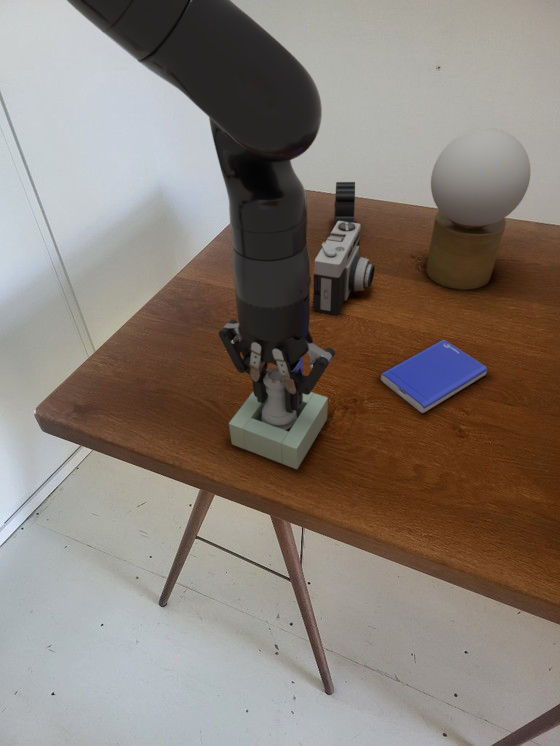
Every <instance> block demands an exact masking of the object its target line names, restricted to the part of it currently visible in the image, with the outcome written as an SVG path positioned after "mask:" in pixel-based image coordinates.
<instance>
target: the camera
mask: <svg viewBox="0 0 560 746" xmlns="http://www.w3.org/2000/svg"><path fill="white" fill-rule="evenodd" d="M361 227H362V225H361V223H358V222H354V223H351V222H344V221H338V222H337V224H336V225H335V227H334V226H333V229H332V230H331V232H330V235H329V236H328V237H327V239H326V240H325V241H323V242H322V244H321V248H320V250H319V252H318V254H317V256H316V257H315V259H314V272H313V295H312V296H313V298H312V299H313V301H312V302H313V303H312V304H313V307H312V309H313V310H314V312H319V313H324V314H329V315H339V313H340V311H341V309H342V306H343V304H344V302H345V301H348V298H349V296H350V294H351V291H354V293H357V292H363V291H365V290H366V288H371V286H372V284H373V281H374V275H375V265H374V264H372V263H371V260H370V259H369V258H368V256H365V257H362V256H359V255H360V243H361V230H362V229H361Z"/></svg>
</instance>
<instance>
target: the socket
mask: <svg viewBox="0 0 560 746" xmlns="http://www.w3.org/2000/svg"><path fill="white" fill-rule="evenodd" d="M267 399H268V398H267ZM266 402H267V400H266V401H265V402H264V403H260V402H258V401H257V397H255V395H254V392H253V391H252V392H251V393H250V395H249V396H248V397H247V399H246V400H245V401H244V402H243V404H242V405H241V406H240V408H239V409H238V411H237V412H236V413H235V415H233V417H232V418H231V419H230V421H228V428H229V434H230V441H231V445H233V446H235V447H237V448H240V449H242V450H246V451H248V452H250V453H253V454H255V455H258V456H260V457H264V458H265V459H268V460H271V461H274V462H276V463H279V464H281V465H284V466H286V467H289V468H291V469H294V470H298V469H299V467H300V466H301V464H302V463H303V461H304V459H305V457H306V456H307V454H308V453H309V450H310V449H311V447H312V446H313V444H314V442H315V440H316V438H317V437H318V435H319V433H320V432H321V430H322V428H323V427H324V425H325V423H326V422H327V420H328V412H329V411H328V408H329V407H328V406H329V397H327V396H325V395H322V394H318V393H315V392H313V391H311V393H310V394H309V395H306V394H303V401H302V403H301V405H300V406H299V408H298V409H297V411H296V415H297V420H296V422H295V423H294V425H293V426H292V427H291V428H289V429H290V430H283V429H280V428H277V427H275V426H272V425H269V424H266V423H264V422H262V409H263V407H264V405H265V404H266Z"/></svg>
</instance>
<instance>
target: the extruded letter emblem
mask: <svg viewBox="0 0 560 746" xmlns="http://www.w3.org/2000/svg"><path fill="white" fill-rule="evenodd" d="M334 197H335V198H334V213H333V228H334V227H335V225H336V224H337V222H338V221H344V222H351V223H355V204H356V182H355V181H336V182H335V196H334Z"/></svg>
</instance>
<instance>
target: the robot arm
mask: <svg viewBox="0 0 560 746" xmlns="http://www.w3.org/2000/svg"><path fill="white" fill-rule="evenodd" d="M66 1H67V2H68V3H69V4H70V5H71V6H72V8H74V9H75V10H76V11H77V12H78V13H80V15H82V16H83V17H84V18H85V19H86V20H87V21H88V22H89V23H91V24H92V25H93V26H94V27H96V29H98V30H99V31H101V32H102V34H104V35H105V36H107V38H109V39H110V40H111V41H113V42H114V43H115V44H116V45H117V46H119V47H120V48H121V49H122V50H123V51H124V52H126V53H127V54H128V55H130V56H131V57H132V58H133V59H134V60H136V61H137V62H138V63H139V64H141V65H142V66H143V67H145V69H147V70H148V71H150V72H152V73H153V74H155V75H156V76H157V77H159V78H161V79H162V80H163V81H165V82H167V83H168V84H169V85H171V86H173V87H175V89H177V90H178V91H180V92H181V93H182V94H183V95H184V96H185V97H186V98H188V99H189V101H191V102H192V103H193V104H194V105H195V106H196V107H197V108H198V109H199V110H201V112H203V113H204V114H205V115H206V117H208V121H209V126H210V131H211V135H212V140H213V144H214V149H215V152H216V156H217V161H218V164H219V168H220V172H221V176H222V179H223V182H224V185H225V189H226V194H227V198H228V212H229V213H228V214H229V215H228V216H229V225H230V233H231V241H232V242H231V243H232V262H231V263H232V266H231V267H232V276H233V285H234V295H235V303H236V304H235V305H236V314H237V319H238V321H237V320H235V319H232V318H231V319H229V321H228V322H227V323H226V324H225V325H224V326H223V327H222V328H221V329H220V331H219V332H218V336H219V339H220V340H221V342H222V344H223V346H224V348H225V350H226V352H227V354H228V356H229V358H230V359H231V361H232V363H233V366H234V367H235V370H236V371H237V372H239V373H240V374H244V373H246V374H248V375H249V378H250V379H251V382H252V389H253V390H252V392H254V395H255V397H257V401H258V402H260V403H264V402H265V401H266V400H267V398H268V393H267V392H266V387H267V386H266V385H265V384H264V382H263V378H264V376H265V375H266V373H267V370H268V369H269V366H270V364H272V365H274V366H278V370H279V373H280V377H281V378H283V379H284V382H285V385H286V389H287V390H286V391H285V401H286V412H288V413H291V414H292V413H293V412H294V410H295V411H297V409H298V408H299V406H300V405H301V403H302V401H303V394H306V395H309V394H310V393H311V392H313V390H314V388H315V387H316V385H317V384H318V381H320V379H321V377H322V376H323V375H324V373H325V372H326V370H327V369H328V367H329V365H330V363H331V362H332V360H333V359H334V357H335V356H336V351H335V349H333V348H331V347H326V348H324V349H323V348H321V347H319V346H318V345H316V344H315V343H314V339H313V336H312V334H311V333H310V330H309V329H310V327H309V326H310V320H311V319H310V318H311V315H310V314H311V313H310V312H311V310H310V309H311V308H310V307H311V303H310V302H311V298H310V297H311V294H310V293H311V282H312V281H311V280H312V277H311V263H310V254H309V249H308V200H307V199H308V198H307V193H306V190H305V187H304V185H303V183H302V181H301V180H300V178H299V177H298V174H297V173H296V172H295V170H294V167H293V164H292V160H294V159H296V158H299V157H300V156H301V155H303V154H305V152H307V150H309V149H310V147H311V146H312V145H313V143H314V142H315V141H316V138H317V137H318V134H319V132H320V129H321V124H322V119H323V105H322V99H321V95H320V92H319V89H318V87H317V84H316V82H315V80H314V79H313V77H312V76H311V74H310V72H309V71H308V69H307V68H306V67H305V66H304V65H303V64H302V63H301V62H300V61H299V60H298V59H297V58H296V57H295V55H293V54H292V53H291V52H290V51H289V50H288V49H287V47H285V46H284V45H283V44H282V43H281V42H280V41H278V40H277V39H276V38H275V37H273V35H271V34H270V33H269V31H267V30H266V29H264V28H263V26H261V25H260V24H258V23H257V21H255V20H254V19H253V17H251V16H250V15H249V14H247V13H246V12H245V11H243V10H242V9H241V8H240V7H239V6H238V5H236V4H235V3H234V2H233V1H232V0H66ZM305 355H307V356H308V357H309V359H308V363H309V365H308V366H309V368H310V369H311V370H310V371H309V373H308V374H307V375H305V373H304V367H303V365H304V356H305Z"/></svg>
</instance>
